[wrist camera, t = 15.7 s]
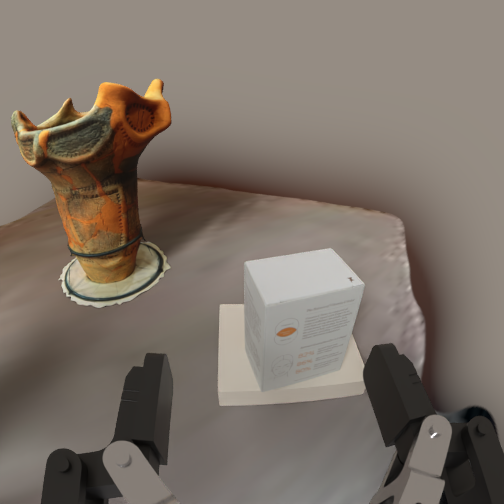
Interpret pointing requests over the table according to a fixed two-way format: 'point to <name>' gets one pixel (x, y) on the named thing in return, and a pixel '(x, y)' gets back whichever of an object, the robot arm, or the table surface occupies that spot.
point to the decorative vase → (100, 189)
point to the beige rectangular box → (248, 392)
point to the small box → (298, 315)
